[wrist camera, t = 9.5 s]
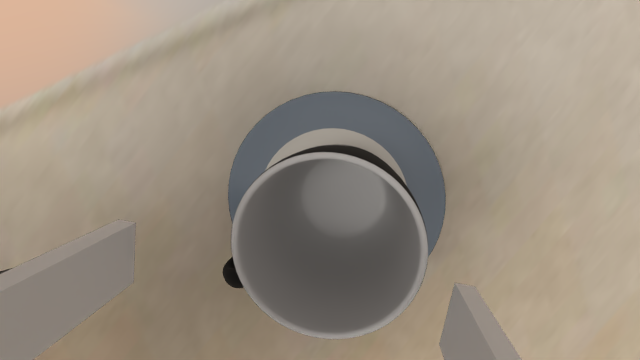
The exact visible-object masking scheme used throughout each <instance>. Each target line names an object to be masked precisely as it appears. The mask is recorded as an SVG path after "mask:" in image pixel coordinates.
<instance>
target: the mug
mask: <svg viewBox="0 0 640 360" xmlns="http://www.w3.org/2000/svg"><path fill="white" fill-rule="evenodd" d="M231 249H232V258H231V259H230V260H229V261H228V262H227V263H226V264H225V266H224V268H223V276H224V278H225V281H226V282H227V283H228V284H229V285H230V286H232V287H235V288H243V287H244V289H245V290H246V292H247V293H248V295H249V296H250V297H251V299H252V300H253V301H254V302H255V303H256V305H257V306H258V307H259V308H260V309H261V310H262V311H264V312H265V313H266V314H267V315H268V316H269V317H271V318H272V319H273V320H275V321H276V322H278V323H280V324H281V325H283V326H285V327H287V328H289V329H291V330H293V331H296V332H298V333H301V334H304V335H307V336H312V337H316V338H323V339H347V338H354V337H358V336H362V335H365V334H368V333H371V332H373V331H376V330H378V329H380V328H382V327H384V326H385V325H387V324H389V323H390V322H391V321H393V320H394V319H395V318H397V317H398V316H399V315H400V314H401V313H402V312H403V311H404V310H405V309H406V308H407V307H408V306H409V304H410V303H411V302H412V300H413V299H414V297H415V296H416V294H417V292H418V291H419V288H420V286H421V284H422V282H423V279H424V276H425V272H426V267H427V261H428V238H427V232H426V227H425V223H424V220H423V217H422V214H421V211H420V209H419V207H418V205H417V202H416V200H415V199H414V197H413V195H412V193H411V192H410V190H409V188H408V187H407V186H406V184H405V183H404V182H403V180H402V179H401V178H400V176H399V175H398V174H397V173H396V172H395V171H394V170H393V169H392V168H391V167H390V166H389V165H388V164H387V163H386V162H384V161H383V160H382V159H380V158H379V157H377V156H376V155H374V154H372V153H371V152H368V151H366V150H364V149H361V148H358V147H354V146H350V145H340V144H332V145H322V146H317V147H313V148H309V149H305V150H302V151H300V152H297V153H294V154H292V155H290V156H288V157H286V158H284V159H282V160H280V161H279V162H277V163H275V164H274V165H272V166H271V167H269V168H268V169H267V170H266V171H264V172H263V173H262V174H261V175H260V176H259V177H258V178H257V179H256V180H255V181H254V182H253V183H252V184H251V185H250V187H249V188H248V190H247V191H246V192H245V194H244V196H243V197H242V199H241V201H240V203H239V205H238V208H237V210H236V213H235V216H234V220H233V225H232V232H231Z"/></svg>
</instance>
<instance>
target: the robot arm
mask: <svg viewBox="0 0 640 360" xmlns="http://www.w3.org/2000/svg"><path fill="white" fill-rule="evenodd" d="M135 233H136V223H135V222H130V221H125V220H119V219H118V220H116V221H114V222H112V223H110V224H108V225H105V226H103V227H101V228H99V229H97V230H95V231H92V232H90V233H88V234H86V235H84V236H82V237H79V238H77V239H75V240H73V241H71V242H69V243H66V244H64V245H62V246H60V247H58V248H56V249H53V250H51V251H49V252H47V253H45V254H43V255H40V256H38V257H36V258H34V259H32V260H29V261H27V262H25V263H23V264H21V265H19V266H16V267H14V268H11V269H7V270H4V271H0V360H33V359H35V358H36V357H37V356H39V355H40V354H41V353H42V352H44V351H45V350H46V349H48V348H49V347H50V346H52V345H53V344H54V343H55V342H57V341H58V340H59V339H61V338H62V337H63V336H65V335H66V334H67V333H68V332H70V331H71V330H72V329H74V328H75V327H76V326H78V325H79V324H80V323H81V322H83V321H84V320H85V319H87V318H88V317H89V316H91V315H92V314H93V313H94V312H96V311H97V310H98V309H100V308H101V307H102V306H104V305H105V304H106V303H107V302H109V301H110V300H111V299H113V298H114V297H115V296H117V295H118V294H119V293H120V292H122V291H123V290H124V289H126V288H127V287H128V286H130V285H131V284H132V283H133V282H134V259H135ZM439 345H440V348H441V351H442V354H443V357H444V360H522V359H521V358H520V356H519V354H518V353H517V351H516V350H515V348H514V347H513V345H512V344H511V342H510V340H509V339H508V337H507V336H506V334H505V333H504V331H503V329H502V328H501V326H500V325H499V323H498V322H497V320H496V319H495V317H494V315H493V314H492V312H491V311H490V309H489V308H488V306H487V304H486V303H485V301H484V300H483V298H482V297H481V295H480V293H479V292H478V290H477V289H476V287H475V286H470V285H464V284H459V283H455V284H454V288H453V292H452V296H451V300H450V304H449V308H448V312H447V316H446V320H445V324H444V328H443V332H442V336H441V339H440V343H439Z"/></svg>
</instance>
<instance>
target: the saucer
mask: <svg viewBox="0 0 640 360" xmlns="http://www.w3.org/2000/svg"><path fill="white" fill-rule="evenodd" d="M332 144H340V145H350V146H354V147H358V148H361V149H364V150H366V151H368V152H371V153H372V154H374V155H376V156H377V157H379V158H380V159H382V160H383V161H384V162H386V163H387V164H388V165H389V166H390V167H391V168H392V169H393V170H394V171H395V172H396V173H397V174H398V175H399V176H400V178H401V179H402V180H403V182H404V183H405V184H406V186H407V187H408V188H409V190H410V192H411V193H412V195H413V197H414V199H415V200H416V202H417V205H418V207H419V209H420V211H421V214H422V217H423V220H424V223H425V227H426V232H427V238H428V256H429V255H430V253H431V252H432V250H433V248H434V246H435V244H436V242H437V240H438V238H439V235H440V231H441V228H442V225H443V220H444V214H445V187H444V180H443V176H442V172H441V169H440V166H439V163H438V161H437V158H436V156H435V154H434V152H433V150H432V148H431V147H430V145H429V143H428V142H427V140H426V139H425V137H424V136H423V135H422V134H421V132H420V131H419V130H418V129H417V128H416V127H415V126H414V125H413V124H412V123H411V122H410V121H409V120H408V119H407V118H406V117H404V116H403V115H402V114H400V113H399V112H397V111H396V110H395V109H393V108H391V107H390V106H388V105H386V104H384V103H382V102H380V101H377V100H375V99H372V98H369V97H367V96H363V95H358V94H354V93H347V92H319V93H314V94H309V95H305V96H302V97H299V98H296V99H293V100H290V101H288V102H286V103H284V104H282V105H280V106H278V107H277V108H276V109H274V110H273V111H271V112H270V113H268V114H267V115H266V116H265V117H263V118H262V119H261V120H260V121H259V122H258V123H257V124H256V125H255V126H254V127H253V129H252V130H251V131H250V132H249V133H248V135H247V136H246V138H245V139H244V141H243V143H242V144H241V146H240V148H239V150H238V152H237V154H236V157H235V159H234V162H233V166H232V169H231V173H230V179H229V189H228V201H229V211H230V215H231V220H232V224H233V220H234V216H235V213H236V210H237V208H238V205H239V203H240V201H241V199H242V197H243V196H244V194H245V192H246V191H247V190H248V188H249V187H250V185H251V184H252V183H253V182H254V181H255V180H256V179H257V178H258V177H259V176H260V175H261V174H262V173H263V172H264V171H266V170H267V169H268V168H269V167H271V166H272V165H274V164H275V163H277V162H279V161H280V160H282V159H284V158H286V157H288V156H290V155H292V154H294V153H297V152H300V151H302V150H305V149H309V148H313V147H317V146H322V145H332Z"/></svg>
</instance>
